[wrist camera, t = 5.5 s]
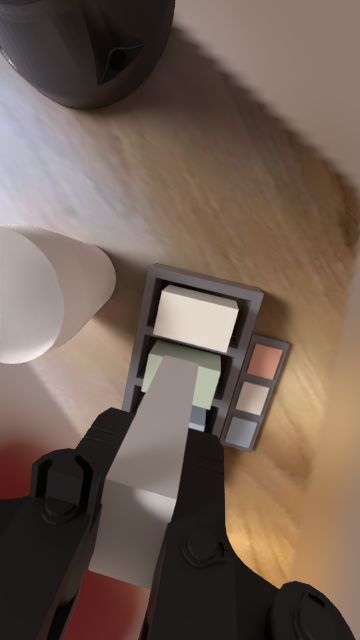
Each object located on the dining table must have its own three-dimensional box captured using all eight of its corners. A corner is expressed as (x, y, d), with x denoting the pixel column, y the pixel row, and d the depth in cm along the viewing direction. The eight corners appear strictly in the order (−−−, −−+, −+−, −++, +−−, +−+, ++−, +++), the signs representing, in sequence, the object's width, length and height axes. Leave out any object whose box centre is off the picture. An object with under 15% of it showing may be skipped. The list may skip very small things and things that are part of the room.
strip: (252, 333, 28) (253, 336, 27) (288, 342, 28) (290, 345, 27) (218, 440, 32) (218, 445, 31) (250, 449, 32) (251, 454, 31)
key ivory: (169, 284, 25) (162, 290, 22) (235, 300, 25) (238, 309, 21) (161, 322, 26) (153, 334, 23) (225, 338, 26) (226, 352, 22)
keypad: (157, 263, 28) (148, 265, 24) (258, 287, 27) (264, 293, 24) (121, 446, 34) (110, 469, 30) (202, 470, 33) (201, 495, 30)
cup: (138, 247, 28) (81, 249, 16) (115, 331, 30) (52, 385, 19) (52, 217, 28) (-65, 199, 16) (37, 303, 30) (-73, 339, 19)
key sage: (157, 339, 27) (149, 353, 23) (220, 355, 26) (220, 371, 23) (150, 373, 28) (141, 391, 24) (210, 389, 27) (209, 409, 24)
